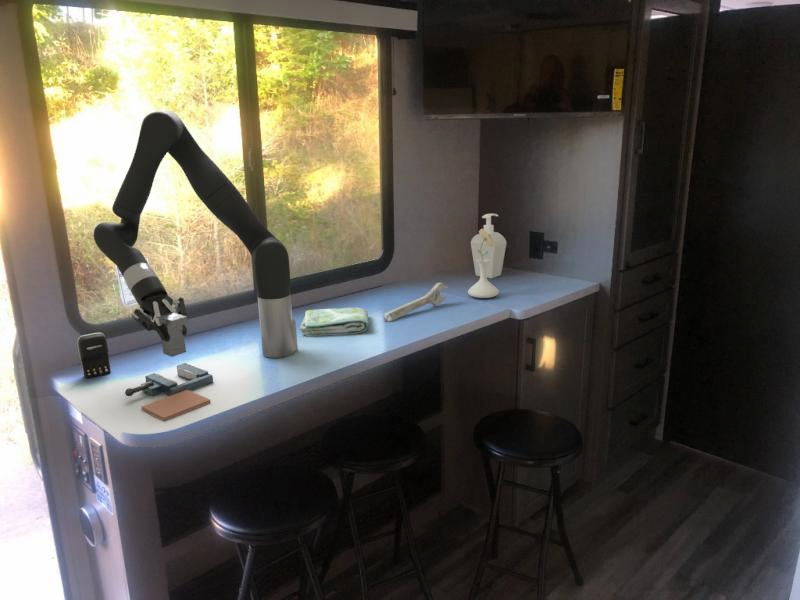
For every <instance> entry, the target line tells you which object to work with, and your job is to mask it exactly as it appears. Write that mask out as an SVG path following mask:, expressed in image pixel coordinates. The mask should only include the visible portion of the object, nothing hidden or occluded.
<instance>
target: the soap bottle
mask: <svg viewBox="0 0 800 600" xmlns="http://www.w3.org/2000/svg"><path fill="white" fill-rule="evenodd" d="M493 216H494V217H499V215H498V214H497V213H485V214H484V215H482V216H481V219H485V224H483V230H484V232H485V230H486V231H487V232H488V235H489V234H490V235H491V238H492V240H493V241H494V243H493V244H494V246H492V247H491V246H489V245H488V244H486V242H483V239H482V237H481V236H480V233H479V232H478V233H477V234H476V235H474V236H473V237H472V238H471V241H470V248H471V253H472V259H473V261H472V262H473V266H474V271H475V274H474V275H475V276H477V277H480V266H479V263H478V262H477V260H478V259H482V257H483V259H489V260H490V262H489V263H488V266H487V273H486V276H487V279H494V278H496V277H500V276H501V275H502V272H503V271H502V270H503V265H504V259H505V253H506V248H507V240H506V238H505V237H504V236H503V235H502V234H501V233H500V232H497V231H494V229H495V228H494V224H492V217H493ZM482 242H483V245H482ZM481 245H482V248H481ZM480 248H481V253H482V255H483V254H485V253H486V252H488V253H487V254H485V255H484V256H482V257H481V254H480V253H479V252H478V249H479V250H480Z"/></svg>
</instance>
